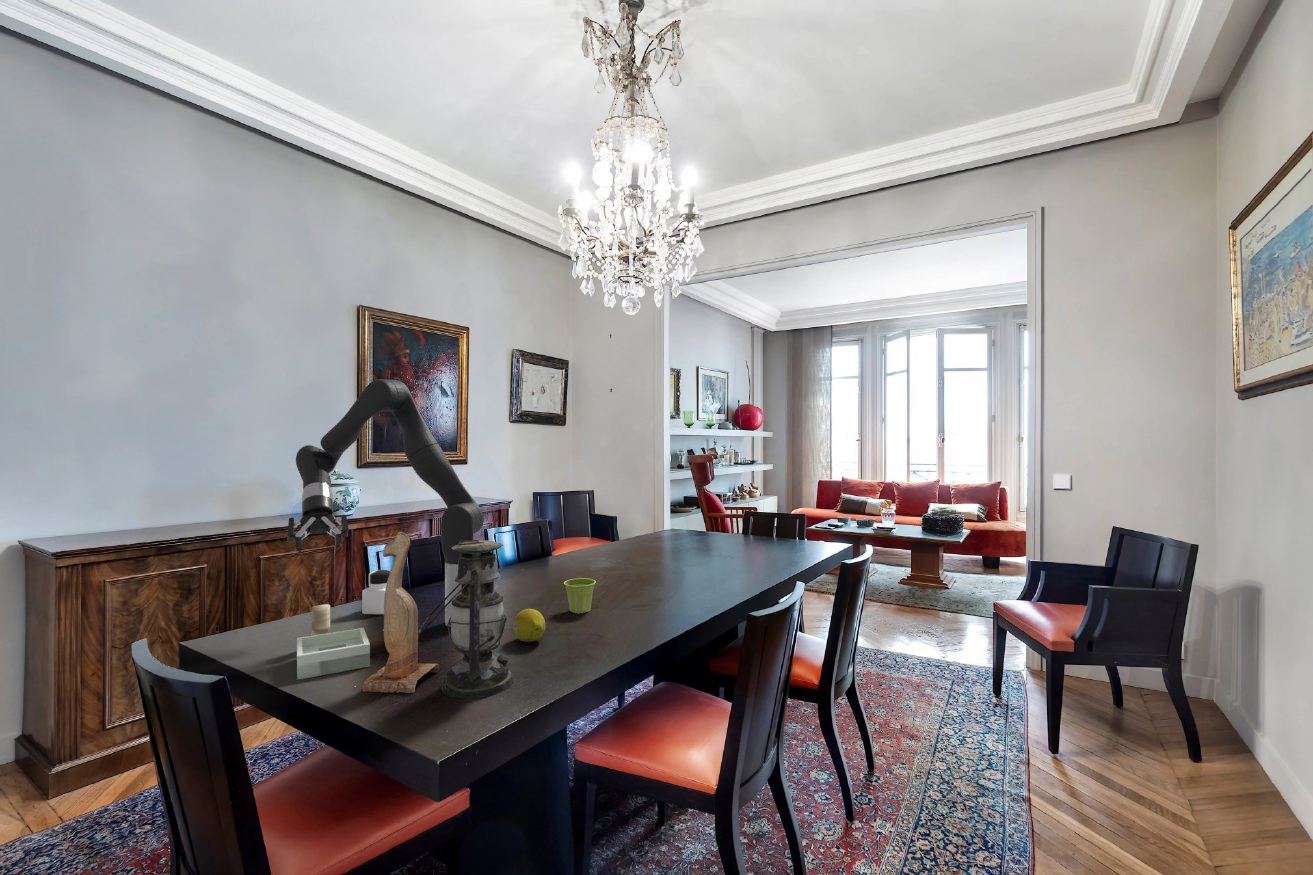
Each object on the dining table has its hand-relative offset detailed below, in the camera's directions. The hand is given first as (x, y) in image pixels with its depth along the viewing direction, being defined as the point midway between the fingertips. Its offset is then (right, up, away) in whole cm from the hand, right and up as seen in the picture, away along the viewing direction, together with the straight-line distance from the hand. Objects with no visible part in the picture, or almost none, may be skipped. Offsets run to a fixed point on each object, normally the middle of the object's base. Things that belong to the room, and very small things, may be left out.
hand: (318, 549), depth 156 cm
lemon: (+57, -22, -7) cm, 62 cm away
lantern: (+50, -22, -33) cm, 64 cm away
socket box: (+15, -22, -21) cm, 34 cm away
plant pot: (+66, -22, +20) cm, 73 cm away
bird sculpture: (+36, -22, -31) cm, 52 cm away
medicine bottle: (+6, -23, +21) cm, 31 cm away
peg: (+6, -22, -10) cm, 25 cm away
